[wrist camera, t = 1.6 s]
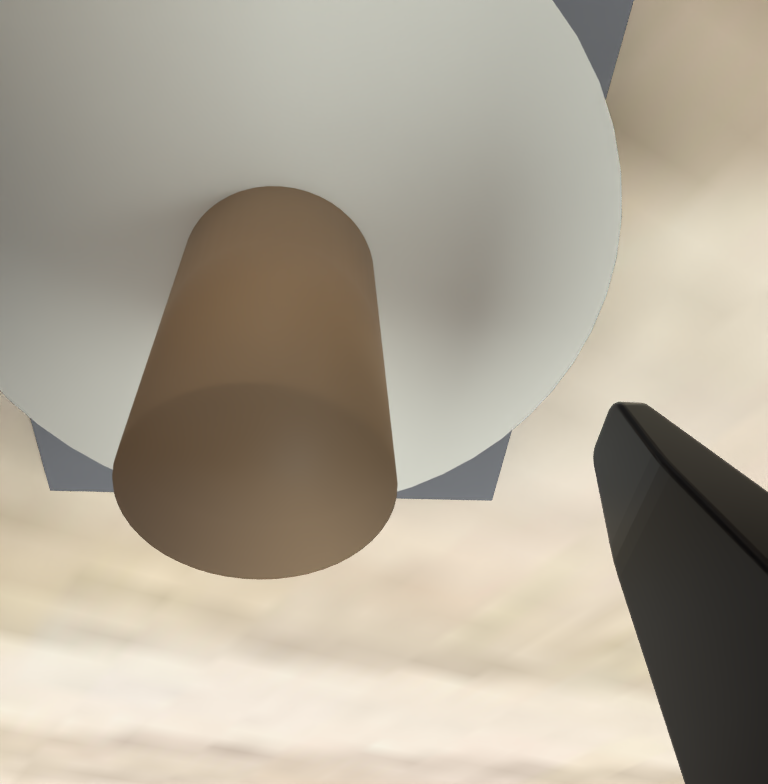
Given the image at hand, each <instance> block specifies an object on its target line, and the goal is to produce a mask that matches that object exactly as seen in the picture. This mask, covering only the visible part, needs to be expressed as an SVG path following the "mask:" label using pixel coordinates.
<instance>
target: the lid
mask: <svg viewBox="0 0 768 784" xmlns="http://www.w3.org/2000/svg"><path fill="white" fill-rule="evenodd" d="M621 219H622V191H621V168H620V162H619V156H618V150H617V144H616V137H615V131H614V126H613V123H612V120H611V117H610V114H609V110H608V107H607V104H606V101H605V98H604V95H603V91H602V88H601V85H600V82H599V80H598V78H597V76H596V74H595V72H594V70H593V68H592V66H591V63H590V61H589V59H588V57H587V55H586V53H585V51H584V49H583V47H582V45H581V43H580V41H579V39H578V37H577V35H576V34H575V32H574V31H573V29H572V28H571V26H570V25H569V23H568V22H567V21H566V19H565V18H564V16H563V15H562V13H561V12H560V10H559V9H558V7H557V6H556V5H555V3H554V2H553V0H0V391H1V392H2V393H3V394H4V395H5V396H6V397H7V398H8V399H9V400H10V401H11V402H12V403H14V404H15V405H16V406H17V407H18V408H19V409H21V410H22V411H23V412H24V413H25V414H26V415H28V416H29V417H30V418H31V419H32V420H33V421H35V422H36V423H37V424H38V425H40V426H41V427H42V428H44V429H45V430H47V431H48V432H50V433H51V434H52V435H54V436H55V437H57V438H58V439H60V440H61V441H63V442H64V443H65V444H67V445H68V446H70V447H71V448H73V449H75V450H77V451H78V452H80V453H82V454H84V455H86V456H87V457H89V458H91V459H93V460H94V461H96V462H98V463H100V464H102V465H103V466H106V467H108V468H110V469H112V470H113V473H112V481H113V490H114V494H115V497H116V500H117V503H118V505H119V507H120V509H121V512H122V514H123V515H124V517H125V518H126V520H127V521H128V522H129V524H130V525H131V527H132V528H133V529H134V530H135V531H136V532H137V533H138V534H139V535H140V536H141V537H142V538H143V539H144V540H145V541H147V542H148V543H149V544H150V545H151V546H153V547H154V548H156V549H157V550H159V551H160V552H162V553H163V554H165V555H167V556H169V557H170V558H172V559H174V560H176V561H178V562H180V563H183V564H185V565H188V566H190V567H193V568H195V569H199V570H202V571H205V572H209V573H213V574H217V575H222V576H227V577H235V578H242V579H279V578H287V577H294V576H299V575H304V574H309V573H312V572H316V571H319V570H323V569H325V568H328V567H330V566H333V565H335V564H338V563H340V562H341V561H343V560H345V559H347V558H349V557H351V556H352V555H354V554H355V553H357V552H358V551H360V550H361V549H363V548H364V547H365V546H366V545H367V544H369V543H370V542H371V541H372V540H373V539H374V538H375V537H376V536H377V535H378V534H379V532H380V531H381V530H382V529H383V527H384V526H385V524H386V523H387V521H388V520H389V517H390V515H391V513H392V511H393V509H394V505H395V501H396V497H397V491H401V490H404V489H407V488H410V487H413V486H416V485H418V484H420V483H423V482H425V481H428V480H430V479H432V478H435V477H437V476H440V475H442V474H444V473H446V472H448V471H450V470H452V469H454V468H455V467H457V466H459V465H461V464H463V463H465V462H467V461H469V460H470V459H472V458H474V457H475V456H477V455H478V454H480V453H481V452H483V451H484V450H486V449H487V448H489V447H490V446H492V445H493V444H495V443H496V442H498V441H499V440H501V439H502V438H503V437H504V436H505V435H507V434H508V433H509V432H510V431H511V430H513V429H514V428H515V427H516V426H517V425H519V424H520V423H521V422H522V421H523V420H524V419H526V418H527V417H528V416H529V415H530V414H531V413H532V412H533V411H534V410H535V409H536V408H537V406H538V405H539V404H540V403H541V402H542V401H543V400H544V399H545V398H546V397H547V396H548V395H549V394H550V393H551V392H552V391H553V389H554V388H555V387H556V385H557V384H558V383H559V381H560V380H561V378H562V377H563V376H564V374H565V373H566V372H567V370H568V369H569V368H570V366H571V365H572V364H573V362H574V361H575V359H576V357H577V356H578V354H579V352H580V350H581V349H582V347H583V345H584V343H585V342H586V340H587V338H588V336H589V335H590V333H591V331H592V329H593V327H594V324H595V322H596V319H597V317H598V315H599V312H600V310H601V307H602V305H603V303H604V300H605V298H606V295H607V292H608V288H609V284H610V280H611V277H612V273H613V269H614V265H615V262H616V258H617V251H618V243H619V235H620V227H621Z"/></svg>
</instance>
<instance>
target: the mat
mask: <svg viewBox="0 0 768 784" xmlns="http://www.w3.org/2000/svg"><path fill="white" fill-rule="evenodd" d="M633 1H634V0H553V2H554V3H555V5H556V6H557V7H558V9H559V10H560V12H561V13H562V15H563V16H564V18H565V19H566V21H567V22H568V23H569V25H570V26H571V28H572V29H573V31H574V32H575V34H576V35H577V37H578V39H579V41H580V43H581V45H582V47H583V49H584V51H585V53H586V55H587V57H588V59H589V61H590V63H591V66H592V68H593V70H594V72H595V74H596V76H597V78H598V80H599V82H600V85H601V88H602V91H603V95H604V98H605V100H606V96H607V93H608V89H609V86H610V82H611V79H612V75H613V72H614V68H615V65H616V61H617V58H618V54H619V50H620V47H621V43H622V40H623V36H624V33H625V29H626V26H627V22H628V19H629V15H630V12H631V8H632V5H633ZM30 419H31V418H30ZM31 422H32V426H33V430H34V433H35V437H36V441H37V444H38V448H39V452H40V455H41V459H42V462H43V466H44V470H45V473H46V477H47V481H48V484H49V488H50V490H51V491H95V492H114V490H113V481H112V473H113V470H112V469H110V468H108V467H106V466H103V465H102V464H100V463H98V462H96V461H94V460H93V459H91V458H89V457H87V456H86V455H84V454H82V453H80V452H78V451H77V450H75V449H73V448H71V447H70V446H68V445H67V444H65V443H64V442H63V441H61V440H60V439H58V438H57V437H55V436H54V435H52V434H51V433H50V432H48V431H47V430H45V429H44V428H42V427H41V426H40V425H38V424H37V423H36V422H35V421H33V420H32V419H31ZM511 431H512V430H511ZM511 431H510V432H509V433H508V434H507V435H505V436H504V437H503V438H502V439H501V440H499V441H498V442H496V443H495V444H493V445H492V446H490V447H489V448H487V449H486V450H484V451H483V452H481V453H480V454H478V455H477V456H475V457H474V458H472V459H470V460H469V461H467V462H465V463H463V464H461V465H459V466H457V467H455V468H454V469H452V470H450V471H448V472H446V473H444V474H442V475H440V476H437V477H435V478H432V479H430V480H428V481H425V482H423V483H420V484H418V485H416V486H413V487H410V488H407V489H404V490H401V491H397V497H396V498H404V499H448V500H492V498H493V495H494V491H495V488H496V484H497V481H498V477H499V474H500V470H501V467H502V463H503V460H504V456H505V453H506V449H507V445H508V442H509V438H510V435H511Z"/></svg>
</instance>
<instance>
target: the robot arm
mask: <svg viewBox="0 0 768 784" xmlns="http://www.w3.org/2000/svg"><path fill="white" fill-rule="evenodd" d="M593 459H594V467H595V472H596V477H597V483H598V488H599V493H600V498H601V503H602V508H603V513H604V518H605V523H606V528H607V533H608V538H609V543H610V548H611V552H612V556H613V561H614V564H615V568H616V571H617V575H618V578H619V581H620V584H621V587H622V590H623V593H624V597H625V600H626V603H627V606H628V609H629V612H630V615H631V618H632V621H633V624H634V627H635V631H636V634H637V637H638V640H639V643H640V646H641V649H642V652H643V655H644V658H645V661H646V665H647V668H648V671H649V674H650V677H651V680H652V683H653V686H654V689H655V692H656V695H657V699H658V702H659V705H660V708H661V711H662V714H663V717H664V720H665V723H666V726H667V729H668V733H669V736H670V739H671V742H672V745H673V748H674V751H675V754H676V757H677V760H678V763H679V767H680V770H681V773H682V776H683V779H684V782H685V784H768V492H767V491H766V490H764V489H763V488H762V487H760V486H759V485H758V484H756V483H755V482H753V481H752V480H751V479H749V478H748V477H746V476H745V475H744V474H742V473H741V472H740V471H738V470H737V469H735V468H734V467H733V466H731V465H730V464H729V463H727V462H726V461H724V460H723V459H722V458H720V457H719V456H717V455H716V454H715V453H713V452H712V451H711V450H709V449H708V448H706V447H705V446H704V445H702V444H701V443H700V442H698V441H697V440H695V439H694V438H693V437H691V436H690V435H688V434H687V433H686V432H684V431H683V430H682V429H680V428H679V427H677V426H676V425H675V424H673V423H672V422H671V421H669V420H668V419H666V418H665V417H664V416H662V415H661V414H660V413H658V412H657V411H655V410H654V409H653V408H651V407H650V406H648V405H647V404H644V403H635V402H617V403H615V404H613V405H612V406H611V408H610V410H609V411H608V414H607V417H606V419H605V422H604V424H603V427H602V429H601V432H600V435H599V437H598V440H597V442H596V445H595V448H594V456H593Z"/></svg>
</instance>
